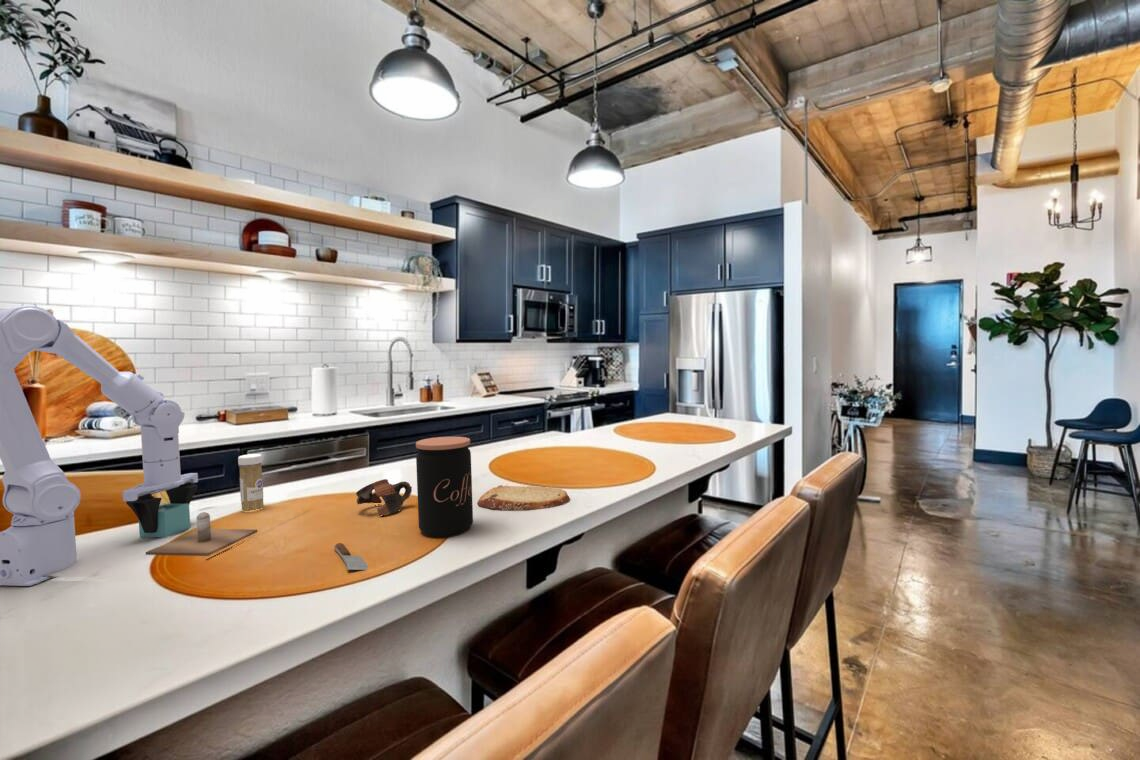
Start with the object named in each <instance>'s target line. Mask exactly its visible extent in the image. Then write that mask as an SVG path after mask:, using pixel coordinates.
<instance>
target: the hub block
mask: <svg viewBox="0 0 1140 760" xmlns="http://www.w3.org/2000/svg"><path fill="white" fill-rule="evenodd" d="M256 533H258V529H246V528H245V529H244V528H243V529H238V528H237V529H236V528H235V529H234V528H231V529H230V528H229V529H228V528H224V529H223V528H219V529H218V528H211V515H210V513H208V512H205V511H203V512H200V513H199V514H197V516H196V531H194V532H191V533H189V534H186V535H184V536H181V537H178V538H177V539H173V540H172V541H170V542H167V543H164V544H162V545H159V546H157V547H155V548H152V549H149V550H148V551H145V555H148V556H149V555H150V556H151V555H153V556H203V557H204V556H205V557H208V556H210V557H208V558H206V559H205V561H209V560H211V559H213V558H215V557H217V556H219V555H221V554H223V553H225V552H227V551H229V550H231V549H233V548H232V547H233V546H235V545H237V544H238V543H239V542H240V541H241V540H244V539H245V538H248V537H250V536H252V535H255V534H256ZM235 543H237V544H235ZM233 544H235V545H233ZM231 545H232V546H231ZM227 547H228V548H227ZM225 548H227V549H225ZM230 548H231V549H230ZM223 549H224V550H223ZM228 549H229V550H228ZM220 550H223V551H221V552H219V551H220ZM226 550H227V551H226ZM224 551H225V552H224ZM217 552H219V553H217ZM222 552H223V553H222ZM214 553H216V554H214ZM220 553H221V554H220ZM213 554H214V555H213ZM218 554H219V555H218ZM216 555H217V556H216ZM214 556H215V557H214ZM212 557H213V558H212ZM210 558H211V559H210Z"/></svg>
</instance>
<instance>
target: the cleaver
mask: <svg viewBox="0 0 1140 760" xmlns="http://www.w3.org/2000/svg"><path fill="white" fill-rule="evenodd" d="M334 551H335V553H337V554H338V556H339V557H340V559H341V560H342V561H344V564H345V565H346V570H348V571H356V570H357V571H368V570H369V566H368V565H369V564H367V563H366V561H365V560H364V558H363V557H362V556H361V555H351V553H350V551H349V549H348V548H347V547H346V546H345V544H344V543H341V542H340V543H336V544H335V545H334Z"/></svg>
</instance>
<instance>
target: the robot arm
mask: <svg viewBox="0 0 1140 760" xmlns="http://www.w3.org/2000/svg"><path fill="white" fill-rule="evenodd" d="M34 351H37V352H42V353H43V352H44V353H49V354H54V355H58V356H59V357H60V358H62V359H63V360H64V361H66V362H68V363H69V364H71V365H73V366H74V367H75V368H77V369H78V370H80V371H82V372H83V373H84V374H86V375H87V376H89V377H90V378H92V379H94V380H95V381H96V382H98V383H99V384H100V392H101V394H102V396H104V397H106V398H107V399H109V400H110V401H112V402H113V403H115V404H116V405H118V406H119V407H120V408H121V409H123V410H124V411H126V412H127V413H128V414H129V415H131V418H132V421H133V423H134V424H135V425H137V426H140V437H141V455H142V456H141V457H142V469H143V470H142V471H143V474H142V475H143V483H141V484H138V485H136V486H133V487H131V488H128V489H126V490H122V500H123V502H125V503H126V505H127V506H128V507H129V509H131V510H132V512H133V513H134V514H135V516H136V517H137V519H138V522H139V521H140V523H141V526H142V528H143V531H144V533H155V532H157V527H158V509H159V505H161V502H162V499H163V498H162V497H155V496H154V495H155V494H159V493H162V492H165V493H166V495H167V498H168V500H169V503H170V504H189V505H190V504H191V501H192V499H193V497H194V495H195V494H196V492H197V490H198V485H197V484H195V483H198V482H199V474H198V472H189V473H184V474H181V461H180V460H181V457H180V455H181V454H180V442H179V441H180V440H179V434H180V430H179V429H180V425H181V424H182V423H183V421H184V418H185V415H186V414H185V412H183V410H182V408H181V407H180V405H179V404H178V403H177V402H176V401H173V400H170V399H169V400H168V399H164V396H165V394H164V393H163V392H161V391H157V390H155V389H154V388H152V387H151V386H150V385H149V384H148V383H146V382H145V381H143V380H144V379H145V377H144V376H143V375H141V374H140V373H133V372H132V371H119V370H118V369H117V368H116V367H115V366H113V365H112V364H111V363H110V362H109V361H107V360H106V358H104V357H103V356H102V355H101V354H100V353H98V352H97V351H96V350H94V348H92V346H90V345H89V344H88V343H87V342H86V341H84V340H83V339H82V338H80V337H79V335H77V334H76V333H75V332H74V331H73V329H72V328H71V327H70V326H69V325H68V324H67V323H66V322H64V321H63V320H61V319H56V317H55V315H54V314H52V313H51V312H50V311H48V310H47V309H45V308H42V307H40V306H35V305H22V306H17V307H13V308H0V461H1V463H2V465H3V466H2V467H3V468H4V469H5V471H4V474H3V475H2V477H1V482H2V484H3V487H4V493H3V496H2V505H3V507H4V509H6V511H8V512H9V513H10V514H13V516H12V518H11V521H10V526H9V527H8V528H7V529H5V530H2V531H0V586H10V587H11V586H13V587H14V586H18V587H19V586H21V587H29V586H33V585H36V584H39V583H42V582H44V581H46V580H49V579H52V578H54V577H55V575H48V574H51V573H55V572H58V571H61V570H64V569H67V568H70V567H71V566H74V565H75V564H77V562H78V557H77V555H78V554H77V544H76V540H77V539H76V527H75V526H76V525H75V515H74V514H75V510H76V509H77V508H78V506H79V504H80V503H81V499H82V498H81V497H82V494H81V491H80V489H79V488H78V486H76V484H74V483H72V482H70V480H69V479H68V478H67V476H66V475H65V472H64V470H63V469H61V468H60V467H59V466H58V464H56V463H55V462H54V461H52V458H51V457H50V454H49V451H48V449H47V447H46V444H45V442H44V440H43V437H42V435H41V433H40V432H41V431H40V430H39V427H38V425H37V422H36V421H35V418H34V415H33V413H32V411H31V408H30V405H29V403H28V401H27V398H26V396H25V394H24V391H23V389H22V386H21V384H20V382H19V380H18V377H17V374H16V372H15V369H16V367H18V365H19V364H21V362H22V361H23V360H24V359H25V358H26V357H27V356H28V355H29V353H31V352H34Z"/></svg>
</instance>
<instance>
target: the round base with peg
mask: <svg viewBox="0 0 1140 760" xmlns="http://www.w3.org/2000/svg"><path fill="white" fill-rule="evenodd" d="M167 509H170V508H162V509H159V510H167ZM189 530H190V528H188V529H186V530H183V531H181V532H178V533H176V534H173V535H171V536H168V537H140V538H141V539H143V540H156V539H164V538H170V537H174V536H177V535H181V534H183V533H185V532H187V531H189Z"/></svg>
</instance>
